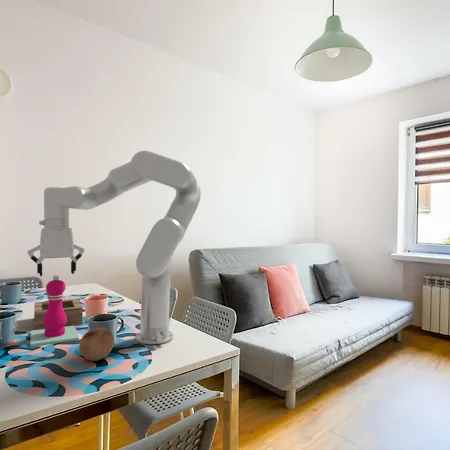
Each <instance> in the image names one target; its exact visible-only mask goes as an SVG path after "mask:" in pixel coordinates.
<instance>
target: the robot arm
mask: <svg viewBox="0 0 450 450" xmlns="http://www.w3.org/2000/svg"><path fill="white" fill-rule="evenodd" d="M151 181H153V182H156V183H158V184H161V185H165V186H167V187H170V188H172V189H174V191H176V192H175V196H174V199H173V200H172V202H171V204H170V206H169V208H168V210H167V212H166V214H165V216H164V217H163V218H161V219H159V220H157V221H156V222H155V224H153V226H152V228H151V230H150V231H149V234H148V236H147V237H146V239H145V241H144V243H143V245H142V247H141V249H140V251H139V253H138V255H137V258H136V262H135V264H136V265H135V266H136V269H137V271H138V273H139V274H140V275H141V276H142V277H141V289H140V291H141V293H140V297H141V299H140V328H139V329H140V331H139V332H137V333H136V334H135V341H136V342H137V343H140V344H144V345H161V344H164V343H168V342H170V341H172V340H173V339H174V333H173V332H172V331H171V330H169V329H170V326H169V325H170V297H171V296H170V294H171V293H170V292H171V273H172V256H173V255H174V253H175V251H176V249H177V247H178V245H179V244H180V243H181V242H182V240H183V238H184V237H185V234H186V232H187V229H188V227H189V225H190V224H191V221H192V220H193V217H194V215H195V213H196V211H197V209H198V207H199V204H200V201H201V194H202V193H201V192H202V191H201V187H200V184H199V181H198V180H197V178H196V176H195V174H194V173H193V171H192V170H191V168H190V167H189V166H188V165H187V164H186V163H183V162H181V161H178V160H176V159H173V158H169V157H167V156H163V155H161V154H158V153H157V152H156V153H155V152H153V151H150V150H140V151H138V152H136V153H135V154H134V155H133V156H132V158H131V161H129V162H127V163H124V164H122V165H120V166H118V167H114V168H113V169H111V170H110V171H109V172H108V175H107V177H106V178H104V180H102V181H100V182H97V184H95V185H92V186H90V187H83V186H77V185H76V186H75V185H74V186H67V187H60V186H59V187H58V186H50V187H48V186H47V187H46V188H44V190H43V219H42V220H39V221H38V222H39V224H38V225H39V226H40V225H41V226H43V227H42V228H41V231H40V239H39V245H37V246H35V247H33V248H31V249H28V250H27V254H28V255H29V258H30V259H31V260H32V261H33V262H34V263H35V264H36V265H37V266H36V267H37V268H36V269H37V270H36V272H37V274H39V277H42V276H43V261H44V260H45V259H60V258H61V259H63V258H70V259H71V262H70V274H72V275H74V274H75V272H76V271H77V261H79V259H81V257H82V256H83V254H84V252H85V248H83V247H81V246H78V245H76V244H74V235H73V230H72V229H73V228H71V227H70V213H69V212H70V209H73V210H85V211H86V210H92V209H94V208H97V207H99V206H101V205H104V204H106V203H108V202H110V201H112V200H114V199H115V198H118V197H120V196H121V195H122V194H124V193H126V192H128V191H131V190H133V189H135V188H137V187H139V186H142V185H144V184H147V183H149V182H151ZM74 249H75V250H78V254H76V255H74V253H75V251H74ZM37 251H39V257H38V258H37V256H35V254H34V253H35V252H37Z"/></svg>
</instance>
